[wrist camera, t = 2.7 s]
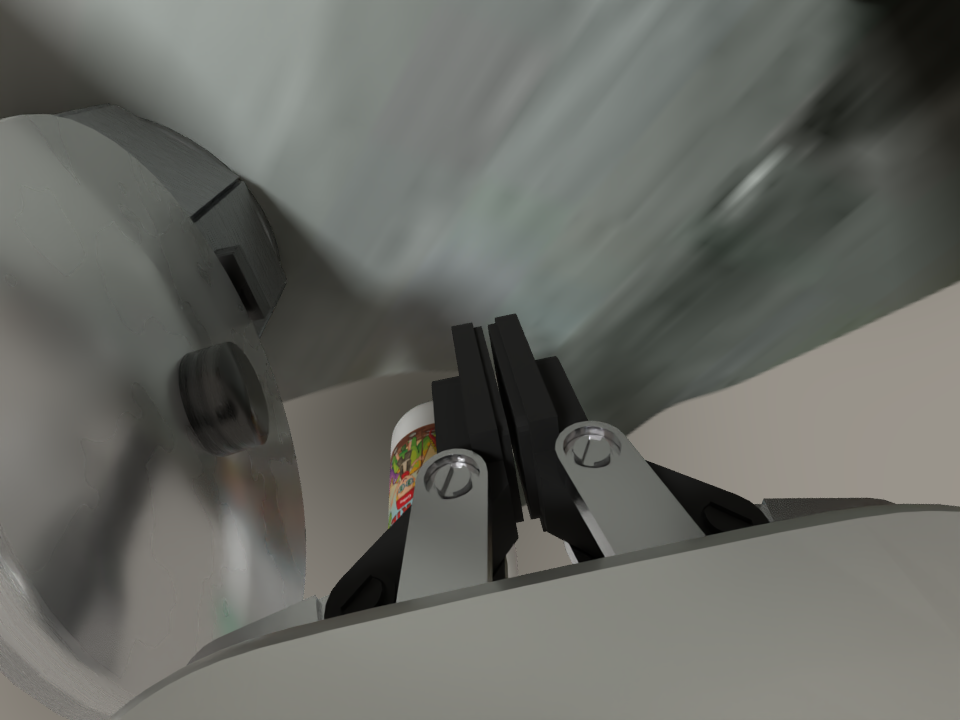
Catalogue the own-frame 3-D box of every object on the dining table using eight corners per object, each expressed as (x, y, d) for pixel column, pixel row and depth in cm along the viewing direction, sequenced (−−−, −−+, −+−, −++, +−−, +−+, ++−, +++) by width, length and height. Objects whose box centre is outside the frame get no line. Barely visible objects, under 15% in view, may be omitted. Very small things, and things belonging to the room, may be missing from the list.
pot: (203, 5, 20) (99, -12, 13) (346, 363, 32) (329, 454, 25) (-143, 71, 20) (-431, 87, 13) (125, 408, 31) (46, 513, 24)
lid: (106, 98, 15) (172, 85, 15) (286, 427, 23) (326, 414, 23) (-764, 266, 3) (-352, 186, 3) (263, 826, 11) (347, 788, 11)
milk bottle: (509, 417, 36) (593, 724, 20) (458, 479, 40) (494, 787, 23) (422, 380, 33) (437, 708, 17) (374, 451, 37) (348, 783, 20)
